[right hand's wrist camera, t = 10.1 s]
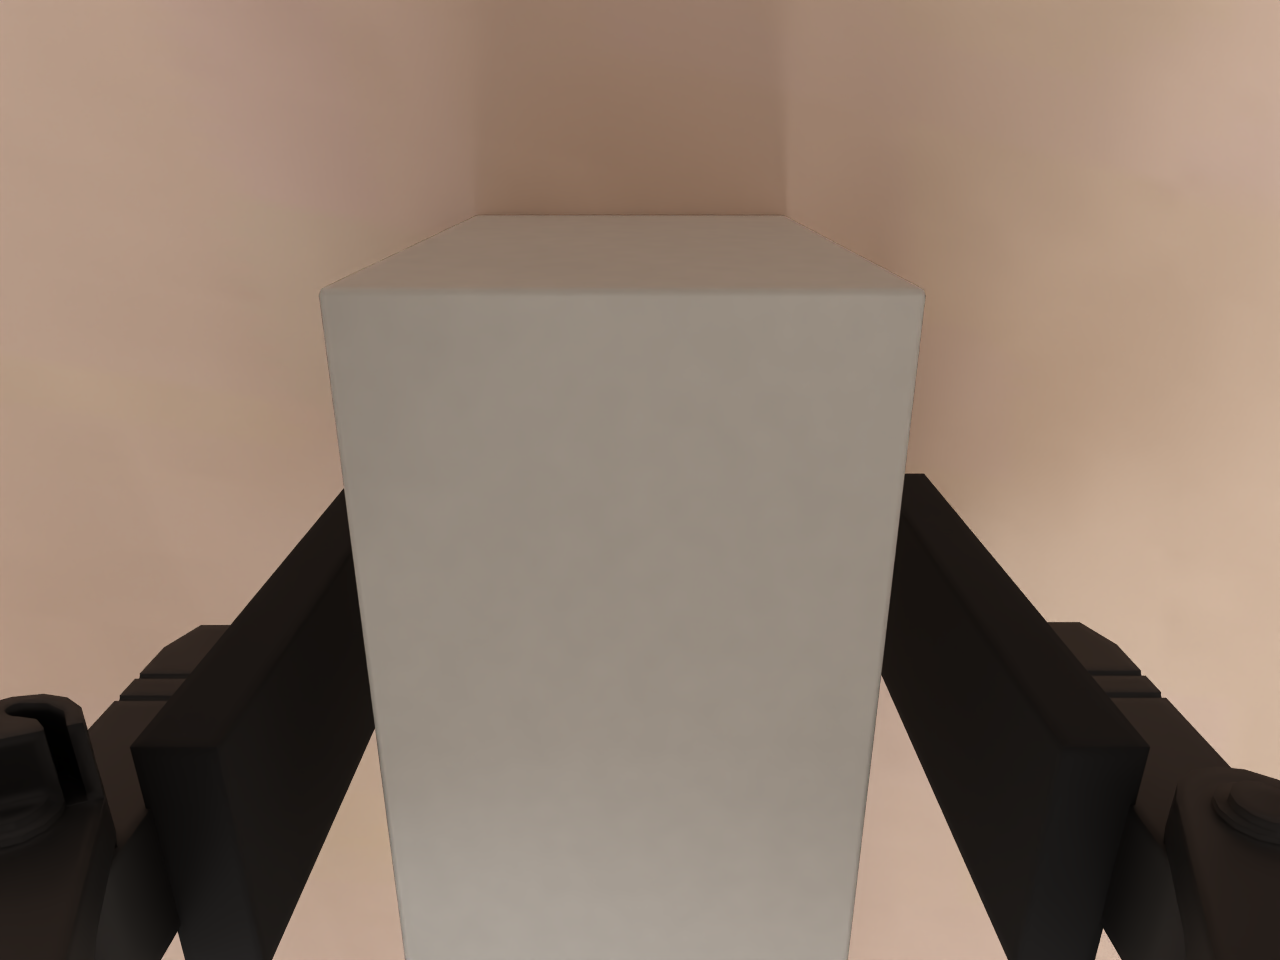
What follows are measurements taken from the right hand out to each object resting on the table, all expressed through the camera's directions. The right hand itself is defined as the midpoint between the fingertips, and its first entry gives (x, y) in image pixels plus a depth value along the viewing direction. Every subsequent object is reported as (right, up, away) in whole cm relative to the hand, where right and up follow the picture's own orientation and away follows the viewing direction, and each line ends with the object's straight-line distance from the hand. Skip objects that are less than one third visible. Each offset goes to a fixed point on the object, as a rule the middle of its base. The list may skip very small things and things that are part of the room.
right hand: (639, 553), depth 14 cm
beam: (0, -33, +15) cm, 36 cm away
